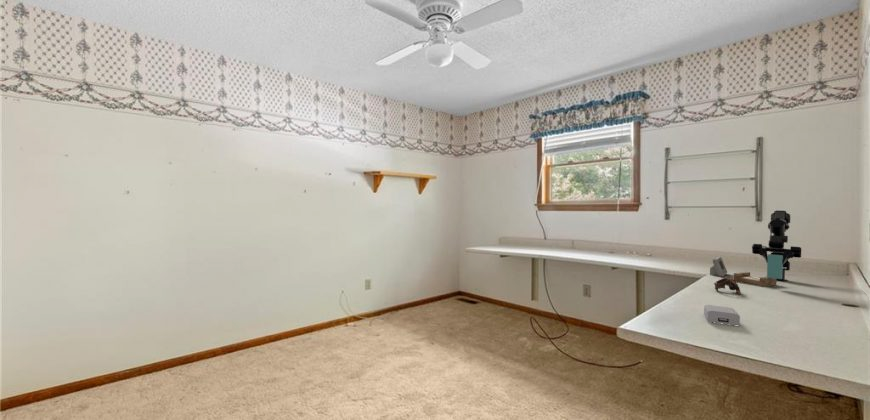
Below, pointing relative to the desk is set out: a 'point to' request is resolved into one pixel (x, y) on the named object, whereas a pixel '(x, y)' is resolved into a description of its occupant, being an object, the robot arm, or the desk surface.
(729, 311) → the charger
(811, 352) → the desk surface
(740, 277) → the display stand
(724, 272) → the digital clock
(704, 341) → the desk surface
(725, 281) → the brown curved arch
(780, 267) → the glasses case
